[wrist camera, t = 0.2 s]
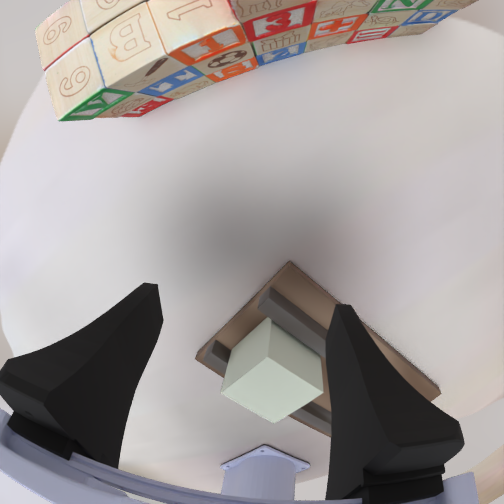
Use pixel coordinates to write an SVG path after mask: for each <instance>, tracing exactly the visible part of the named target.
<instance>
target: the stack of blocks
mask: <svg viewBox="0 0 504 504" xmlns="http://www.w3.org/2000/svg"><path fill="white" fill-rule="evenodd" d="M476 1H478V0H69V1H68V2H66V3H65V4H64V5H62V6H61V7H60V8H59V9H58V10H56V11H55V12H54V13H52V14H51V15H50V16H49V17H48V18H47V19H45V20H44V21H43V22H42V23H41V24H39V25H38V26H37V27H36V29H35V33H36V39H37V44H38V49H39V54H40V59H41V64H42V69H43V70H44V71H45V77H46V81H47V85H48V89H49V93H50V96H51V100H52V104H53V107H54V111H55V114H56V117H57V120H58V121H76V120H91V119H93V118H106V117H108V118H112V117H114V118H117V117H140V116H142V115H144V114H146V113H147V112H149V111H151V110H153V109H155V108H157V107H159V106H161V105H163V104H165V103H167V102H169V101H172V100H173V99H179V98H181V97H183V96H185V95H188V94H190V93H192V92H195V91H197V90H199V89H202V88H204V87H206V86H209V85H211V84H213V83H215V82H219V81H222V80H225V79H227V78H230V77H233V76H236V75H238V74H241V73H244V72H247V71H250V70H253V69H256V68H258V67H259V66H261V65H265V64H268V63H271V62H274V61H278V60H281V59H284V58H288V57H292V56H295V55H299V54H302V53H304V52H309V51H313V50H317V49H322V48H326V47H330V46H335V45H339V44H344V43H346V44H350V43H356V42H361V41H367V40H373V39H380V38H386V37H398V36H407V35H418V34H422V33H424V32H425V31H427V30H428V29H430V28H431V27H433V26H435V25H436V24H438V22H440V21H441V20H443V19H445V18H446V17H448V16H449V15H451V14H453V13H455V12H457V11H458V10H460V9H463V8H465V7H467V6H469V5H471V4H472V3H474V2H476Z"/></svg>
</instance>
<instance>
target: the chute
mask: <svg viewBox="0 0 504 504" xmlns="http://www.w3.org/2000/svg"><path fill="white" fill-rule="evenodd" d="M336 304H340V303H339V302H338V301H337V300H336V299H334V298H333V297H332V296H331V295H330V294H328V293H327V292H326V291H325V290H324V289H322V288H321V287H320V286H319V285H318V284H316V283H315V282H314V281H313V280H312V279H310V278H309V277H308V276H307V275H306V274H304V273H303V272H302V271H301V270H300V269H298V268H297V267H296V266H295V265H293V264H292V263H291V262H290V261H289V262H288V263H287V264H286V265H285V266H284V267H283V268H282V269H281V270H280V271H279V272H278V273H277V274H276V275H275V276H274V277H273V278H272V279H271V280H270V281H269V282H268V283H267V284H266V285H265V286H264V287H263V288H262V289H261V290H260V291H259V292H258V293H257V294H256V295H255V296H254V297H253V298H252V299H251V300H250V301H249V302H248V303H247V304H246V305H245V306H244V307H243V308H242V309H241V310H240V311H239V312H238V313H237V314H236V315H235V316H234V317H233V318H232V319H231V320H230V321H229V322H228V323H227V324H226V325H225V326H224V327H223V328H222V329H221V330H220V331H219V332H218V333H217V334H216V335H215V336H214V337H213V338H212V339H211V340H210V341H209V342H207V343H206V344H205V345H204V346H203V347H202V348H201V349H200V350H199V351H198V352H197V355H196V358H195V359H196V360H197V361H199V362H200V363H202V364H203V365H205V366H206V367H208V368H209V369H211V370H212V371H214V372H215V373H217V374H218V375H220V376H221V377H223V378H224V377H225V373H226V370H227V366H228V362H229V358H230V354H231V350H232V349H233V348H234V347H235V346H236V345H237V344H238V343H239V342H240V341H242V340H243V339H244V338H245V337H246V336H247V335H248V334H249V333H250V332H251V331H253V330H254V329H255V328H256V327H257V326H258V325H259V324H260V323H261V322H262V321H264V320H265V319H266V318H267V317H269V318H270V319H271V320H273V321H274V322H275V323H277V324H278V325H280V326H281V327H282V328H284V329H285V330H286V331H288V332H289V333H291V334H292V335H293V336H295V337H296V338H297V339H299V340H300V341H302V342H303V343H304V344H306V345H307V346H309V347H310V348H311V349H313V350H314V351H316V352H317V353H318V354H320V357H321V368H322V379H323V391H324V393H322V394H321V395H319V396H318V397H316V398H315V399H313V400H312V401H310V402H309V403H307V404H306V405H304V406H302V407H301V408H299V409H298V410H296V411H294V412H293V413H291V414H289V415H288V416H290V417H291V418H293V419H295V420H297V421H299V422H301V423H303V424H305V425H307V426H309V427H311V428H313V429H315V430H317V431H319V432H321V433H323V434H325V435H327V436H329V437H331V403H330V394H329V386H328V378H327V369H326V355H325V339H326V336H327V333H328V329H329V326H330V323H331V319H332V316H333V312H334V309H335V305H336ZM361 322H362V321H361ZM362 323H363V322H362ZM363 325H364V327H365V328H366V330H367V331H368V333H369V334H370V336H371V337H372V339H373V340H374V342H375V343H376V344H377V346H378V347H379V349H380V350H381V351H382V353H383V354H384V355H385V357H386V358H387V359H388V361H389V362H390V363H391V364H392V365H393V367H394V368H395V369H396V370H397V371H398V372H399V373H400V374H401V375H402V376H403V378H404V379H405V380H406V381H407V382H408V383H409V384H410V385H412V386H413V387H414V388H415V389H416V390H417V391H418V392H419V393H420V394H421V395H423V396H424V397H425V398H426V399H427V400H429V401H430V402H431V401H432V400H434V399H435V398H436V397H438V396H439V395H440V394H441V391H440V389H439V387H438V386H437V385H436V384H434V383H433V382H432V381H431V380H430V379H429V378H427V377H426V376H425V375H424V374H423V373H422V372H421V371H419V370H418V369H417V368H416V367H415V366H414V365H412V364H411V363H410V362H409V361H408V360H407V359H405V358H404V357H403V356H402V355H401V354H400V353H398V352H397V351H396V350H395V349H394V348H393V347H391V346H390V345H389V344H388V343H387V342H386V341H384V340H383V339H382V338H381V337H380V336H378V335H377V334H376V333H375V332H374V331H373V330H371V329H370V328H369V327H368V326H367V325H365V324H364V323H363Z"/></svg>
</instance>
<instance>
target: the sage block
mask: <svg viewBox="0 0 504 504" xmlns="http://www.w3.org/2000/svg"><path fill="white" fill-rule="evenodd" d="M220 393H221V394H222V395H224V396H226V397H227V398H229V399H231V400H232V401H234V402H236V403H238V404H239V405H241V406H243V407H245V408H246V409H248V410H250V411H252V412H253V413H255V414H257V415H259V416H261V417H263V418H264V419H266V420H268V421H270V422H272V423H276V422H278V421H279V420H281V419H283V418H284V417H286V416H288V415H289V414H291V413H293V412H294V411H296V410H298V409H299V408H301V407H302V406H304V405H306V404H307V403H309V402H310V401H312V400H313V399H315V398H316V397H318V396H319V395H321V394H322V393H324V391H323V379H322V368H321V357H320V354H318V353H317V352H316V351H314V350H313V349H311V348H310V347H309V346H307V345H306V344H304V343H303V342H302V341H300V340H299V339H297V338H296V337H295V336H293V335H292V334H291V333H289V332H288V331H286V330H285V329H284V328H282V327H281V326H280V325H278V324H277V323H275V322H274V321H273V320H271V319H270V318H269V317H267V318H266V319H265V320H264V321H262V322H261V323H260V324H259V325H258V326H257V327H256V328H255V329H254V330H253V331H251V332H250V333H249V334H248V335H247V336H246V337H245V338H244V339H243V340H242V341H240V342H239V343H238V344H237V345H236V346H235V347H234V348H233V349H232V350H231V354H230V358H229V362H228V366H227V370H226V373H225V377H224V381H223V385H222V389H221V392H220Z"/></svg>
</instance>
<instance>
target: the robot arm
mask: <svg viewBox="0 0 504 504" xmlns="http://www.w3.org/2000/svg"><path fill="white" fill-rule="evenodd" d="M162 324H163V315H162V309H161V303H160V297H159V291H158V284H151V283H143V284H142V285H140V286H139V287H138V288H136V289H135V290H134V291H133V292H131V293H130V294H129V295H128V296H126V297H125V298H124V299H123V300H121V301H120V302H119V303H117V304H116V305H115V306H114V307H112V308H111V309H110V310H108V311H107V312H106V313H104V314H103V315H101V316H100V317H99V318H97V319H96V320H94V321H93V322H92V323H90V324H88V325H87V326H85V327H84V328H82V329H80V330H79V331H77V332H75V333H74V334H72V335H70V336H68V337H66V338H64V339H62V340H60V341H58V342H56V343H54V344H52V345H50V346H47V347H45V348H42V349H40V350H37V351H34V352H32V353H29V354H25V355H22V356H18V357H15V358H11V359H8V360H7V361H6V363H5V364H4V366H3V367H2V369H1V370H0V395H1V396H2V398H3V399H4V400H5V401H6V402H7V404H8V405H9V406H10V407H11V408H12V409H13V410H14V412H13V414H12V416H11V415H9V414H8V413H7V412H5V411H4V410H2V409H1V408H0V471H1V472H3V473H4V474H6V475H7V476H8V477H10V478H12V479H13V480H14V481H16V482H17V483H19V484H21V485H22V486H24V487H25V488H27V489H28V490H30V491H32V492H33V493H35V494H37V495H38V496H40V497H42V498H44V499H45V500H47V501H49V502H51V503H53V504H149V503H146V502H142V501H139V500H135V499H132V498H129V497H128V496H127V495H126V493H125V492H123V491H126V492H129V493H132V494H135V495H139V496H142V497H145V498H149V499H152V500H156V501H160V502H163V503H167V504H479V500H478V494H477V489H476V483H475V478H474V473H473V472H468V473H465V474H461V475H458V476H454V477H451V478H448V479H446V480H443V481H442V475H441V474H444V473H445V467H444V463H446V462H447V461H448V460H450V459H451V458H452V457H454V456H455V455H456V454H457V453H458V452H459V451H460V450H461V449H462V448H463V446H464V438H463V434H462V431H461V427H460V424H459V422H458V421H457V420H456V419H454V418H453V417H451V416H449V415H448V414H446V413H445V412H443V411H442V410H440V409H439V408H438V407H436V406H435V405H434V404H432V403H431V402H430V401H429V400H427V399H426V398H425V397H424V396H423V395H421V394H420V393H419V392H418V391H417V390H416V389H415V388H414V387H413V386H412V385H410V384H409V383H408V382H407V381H406V380H405V379H404V378H403V376H402V375H401V374H400V373H399V372H398V371H397V370H396V369H395V368H394V367H393V365H392V364H391V363H390V362H389V361H388V359H387V358H386V357H385V355H384V354H383V353H382V351H381V350H380V349H379V347H378V346H377V344H376V343H375V342H374V340H373V339H372V337H371V336H370V334H369V333H368V331H367V330H366V328H365V327H364V325H363V323H362V322H361V320H360V319H359V317H358V316H357V314H356V312H355V311H354V309H353V308H352V306H351V305H346V304H336V305H335V309H334V312H333V316H332V319H331V323H330V326H329V329H328V333H327V336H326V339H325V355H326V369H327V378H328V386H329V394H330V403H331V450H330V464H329V475H328V483H327V492H326V498H325V500H322V501H295V500H294V493H295V474H296V473H298V472H301V471H303V470H305V469H308V468H309V467H310V464H308V463H306V462H303V461H301V460H298V459H296V458H294V457H291V456H289V455H287V454H284V453H282V452H280V451H278V450H275V449H273V448H271V447H269V446H261V447H259V448H257V449H255V450H253V451H251V452H249V453H247V454H245V455H243V456H241V457H238V458H236V459H234V460H232V461H229V462H227V463H225V464H223V465H221V467H220V468H221V469H223V470H225V475H224V480H223V485H222V490H221V494H217V493H211V492H205V491H199V490H194V489H189V488H184V487H180V486H175V485H171V484H167V483H163V482H159V481H155V480H152V479H148V478H145V477H141V476H138V475H134V474H131V473H128V472H125V471H122V470H119V469H118V465H119V458H120V452H121V446H122V441H123V436H124V431H125V426H126V422H127V418H128V415H129V411H130V407H131V404H132V400H133V397H134V394H135V390H136V388H137V385H138V383H139V380H140V378H141V376H142V374H143V371H144V369H145V367H146V365H147V363H148V360H149V358H150V356H151V354H152V352H153V350H154V347H155V345H156V343H157V340H158V337H159V334H160V331H161V328H162ZM111 486H112V487H111ZM113 487H115V488H113ZM116 488H117V489H116ZM118 489H120V490H123V491H120V490H118Z"/></svg>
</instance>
